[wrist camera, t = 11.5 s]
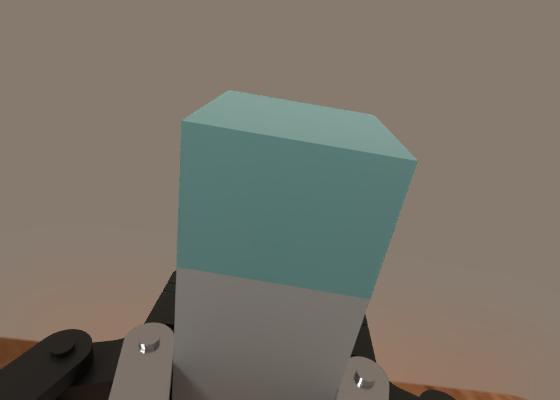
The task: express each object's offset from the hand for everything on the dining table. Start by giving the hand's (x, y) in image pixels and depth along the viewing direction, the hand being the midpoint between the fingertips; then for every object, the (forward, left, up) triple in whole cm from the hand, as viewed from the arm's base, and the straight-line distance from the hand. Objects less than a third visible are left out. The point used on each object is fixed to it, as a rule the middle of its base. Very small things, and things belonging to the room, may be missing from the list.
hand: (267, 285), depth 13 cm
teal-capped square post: (0, -3, -7) cm, 8 cm away
